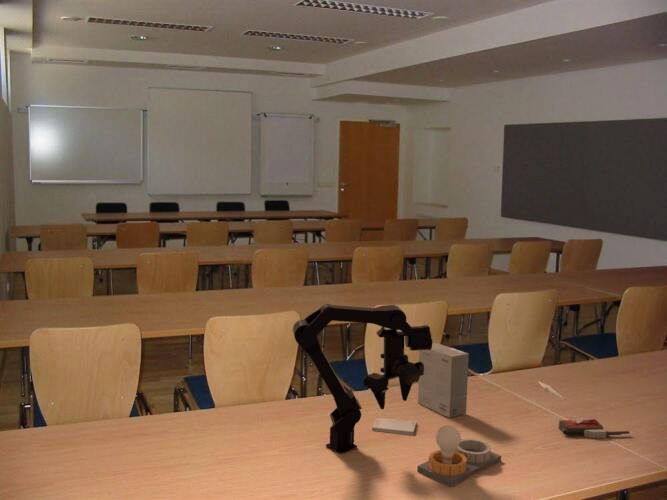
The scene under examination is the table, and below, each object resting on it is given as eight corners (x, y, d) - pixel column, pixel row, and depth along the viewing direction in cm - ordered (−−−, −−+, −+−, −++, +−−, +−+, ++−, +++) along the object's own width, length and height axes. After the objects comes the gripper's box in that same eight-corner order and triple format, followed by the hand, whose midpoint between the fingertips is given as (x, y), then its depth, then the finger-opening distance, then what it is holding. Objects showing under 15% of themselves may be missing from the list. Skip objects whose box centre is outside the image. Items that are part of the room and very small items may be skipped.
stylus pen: (535, 385, 248) (535, 380, 248) (541, 384, 249) (542, 380, 249) (560, 401, 234) (561, 396, 234) (567, 401, 235) (567, 396, 235)
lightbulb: (454, 474, 176) (456, 433, 174) (431, 468, 179) (433, 428, 177) (462, 464, 181) (464, 424, 180) (439, 459, 184) (441, 419, 182)
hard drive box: (467, 414, 220) (470, 353, 217) (449, 419, 216) (452, 357, 213) (433, 399, 233) (436, 341, 230) (416, 403, 228) (418, 345, 225)
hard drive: (416, 421, 211) (376, 416, 214) (413, 431, 203) (372, 426, 206) (416, 426, 211) (376, 421, 214) (413, 436, 203) (372, 432, 206)
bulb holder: (451, 486, 172) (451, 471, 172) (417, 471, 180) (417, 456, 180) (501, 461, 187) (501, 447, 186) (467, 447, 195) (468, 434, 194)
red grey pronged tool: (566, 440, 202) (631, 438, 204) (567, 426, 201) (632, 424, 204) (553, 428, 211) (615, 426, 213) (554, 414, 210) (616, 413, 212)
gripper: (392, 365, 179) (391, 422, 182) (438, 350, 192) (437, 404, 194) (362, 355, 188) (362, 410, 190) (408, 342, 200) (407, 393, 202)
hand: (393, 404), depth 194 cm, fingers open, 9 cm apart
